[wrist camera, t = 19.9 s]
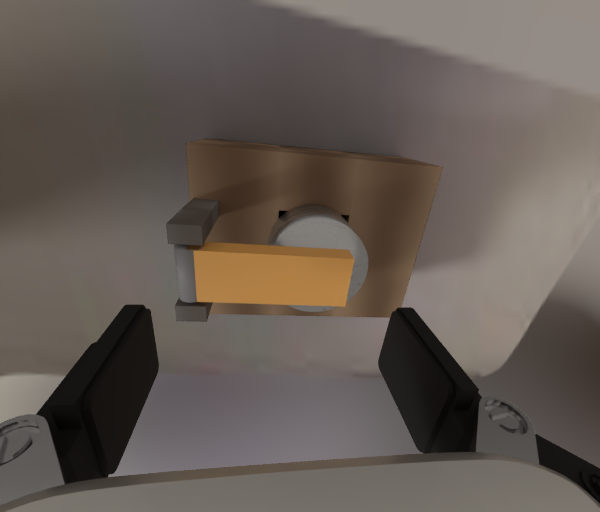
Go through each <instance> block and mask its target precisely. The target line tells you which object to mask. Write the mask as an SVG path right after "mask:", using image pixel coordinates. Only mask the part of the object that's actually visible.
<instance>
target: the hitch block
mask: <svg viewBox="0 0 600 512" xmlns="http://www.w3.org/2000/svg"><path fill="white" fill-rule="evenodd" d="M186 152H187V166H188V181H189V196H190V202H189V203H188V204H186V205H185V206H184V207H183V208H182V209H181V210H180V211H179V212H178V213H177V214H176V215H175V216H174V217H173V218H172V219H171V220H170V221H169V222H167V223H166V229H167V238H168V244H184V245H203V244H204V242H219V243H236V244H254V245H267V244H268V237H269V234H270V231H271V229H272V227H273V225H274V224H275V222H276V221H277V220H278V215H279V210H281V211H289V210H290V209H292V208H295V207H297V206H301V205H306V204H319V205H324V206H327V207H329V208H332V209H333V210H335V211H337V212H338V213H339V214H340V215H342V217H343V218H344V219H345V220H346V221H347V223H348V224H349V225H350V226H351V228H352V229H353V230H354V232H355V233H356V234H357V235H358V237H359V238H360V239H361V241H362V242H363V244H364V246H365V248H366V251H367V255H368V271H367V275H366V278H365V280H364V283H363V284H362V286H361V288H360V289H359V290H358V292H357V293H356V294H355V295H354V296H353V297H352V298H351V299H350V300H348V301H347V302H346V305H345V307H341V306H338V307H336V308H333V309H331V310H326V311H321V312H306V311H301V310H298V309H294V308H292V307H290V306H288V305H279V304H248V303H217V302H194V303H187V302H183V301H181V300H180V298H179V299H178V301H177V303H176V305H175V312H176V321H201V322H207V319H208V316H209V314H250V315H297V316H343V317H391V314H392V312H393V311H395V310H396V309H397V308H401V307H402V303H403V300H404V296H405V293H406V290H407V286H408V283H409V280H410V276H411V273H412V269H413V266H414V263H415V259H416V256H417V253H418V249H419V246H420V242H421V239H422V236H423V232H424V229H425V226H426V222H427V219H428V215H429V212H430V209H431V205H432V202H433V199H434V195H435V192H436V188H437V185H438V182H439V178H440V175H441V172H442V168H443V167H440V166H436V165H432V164H428V163H424V162H420V161H416V160H412V159H408V158H404V157H394V156H384V155H373V154H363V153H353V152H342V151H332V150H322V149H311V148H301V147H290V146H280V145H270V144H259V143H249V142H239V141H228V140H218V139H208V138H207V139H203V140H198V141H194V142H189V143H186Z"/></svg>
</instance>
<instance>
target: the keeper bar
mask: <svg viewBox="0 0 600 512" xmlns="http://www.w3.org/2000/svg"><path fill="white" fill-rule="evenodd" d="M174 250H175V260H176V270H177V280H178V290H179V298H180V300H181V301H183V302H187V303H194V302H217V303H248V304H279V305H310V306H341V307H345V305H346V300H347V295H348V290H349V285H350V280H351V275H352V270H353V264H354V257H353V256H352V254H351V252H350V251H349V250H343V249H325V248H308V247H290V246H272V245H254V244H236V243H219V242H204V244H203V245H184V244H175V245H174Z"/></svg>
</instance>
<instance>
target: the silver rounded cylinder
mask: <svg viewBox="0 0 600 512" xmlns="http://www.w3.org/2000/svg"><path fill="white" fill-rule="evenodd" d="M267 245H272V246H290V247H308V248H325V249H343V250H349V251H350V252H351V254H352V256H353V257H354V264H353V270H352V275H351V280H350V285H349V290H348V295H347V300H346V302H347V301H348V300H350V299H351V298H352V297H353V296H354V295H355V294H356V293H357V292H358V290H359V289H360V288H361V286H362V284H363V283H364V280H365V278H366V275H367V271H368V255H367V251H366V248H365V246H364V244H363V242H362V241H361V239H360V238H359V237H358V235H357V234H356V233H355V232H354V230H353V229H352V228H351V226H350V225H349V224H348V223H347V221H346V220H345V219H344V218H343V217H342V215H340V214H339V213H338V212H337V211H335V210H333V209H332V208H329V207H327V206H324V205H319V204H306V205H301V206H297V207H295V208H292V209H290V210H289V211H285V213H284V214H283V215H282V216H281V217H280V218H279V219H278V220H277V221H276V222H275V224H274V225H273V227H272V229H271V231H270V234H269V237H268V244H267ZM288 306H290V307H292V308H294V309H298V310H301V311H306V312H321V311H326V310H331V309H333V308H336V307H338V306H310V305H288Z"/></svg>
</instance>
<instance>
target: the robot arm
mask: <svg viewBox="0 0 600 512" xmlns="http://www.w3.org/2000/svg"><path fill="white" fill-rule="evenodd" d="M378 365H379V369H380V371H381V373H382V375H383V377H384V380H385V381H386V384H387V386H388V388H389V390H390V392H391V394H392V396H393V398H394V401H395V403H396V405H397V407H398V409H399V411H400V413H401V415H402V418H403V420H404V422H405V424H406V426H407V428H408V430H409V432H410V434H411V437H412V439H413V441H414V443H415V445H416V447H417V449H418V450H419V451H420V452H423V454H407V455H392V456H377V457H361V458H346V459H333V460H318V461H304V462H290V463H276V464H263V465H249V466H235V467H223V468H209V469H197V470H184V471H171V472H159V473H149V474H139V475H128V476H118V477H108V475H109V474H113V473H114V472H115V471H116V469H117V467H118V465H119V463H120V460H121V458H122V456H123V453H124V451H125V449H126V446H127V444H128V441H129V439H130V437H131V435H132V432H133V430H134V427H135V425H136V423H137V420H138V418H139V416H140V413H141V411H142V408H143V406H144V404H145V401H146V399H147V397H148V394H149V392H150V390H151V387H152V385H153V382H154V380H155V378H156V376H157V373H158V368H159V363H158V356H157V350H156V343H155V336H154V330H153V323H152V317H151V311H150V309H146V308H145V306H144V305H125V306H124V307H123V308H122V309H121V311H120V312H119V313H118V315H117V316H116V317H115V319H114V320H113V321H112V323H111V324H110V325H109V326H108V328H107V329H106V330H105V332H104V333H103V334H102V336H101V337H100V338H99V340H98V341H97V342H95V343H93V344H91V345H90V346H89V347H88V349H87V350H86V351H85V353H84V354H83V355H82V356H81V358H80V359H79V360H78V361H77V363H76V364H75V365H74V367H73V368H72V369H71V370H70V372H69V373H68V374H67V376H66V377H65V378H64V379H63V381H62V382H61V383H60V384H59V386H58V387H57V388H56V390H55V391H54V392H53V394H52V395H51V396H50V397H49V399H48V400H47V401H46V402H45V404H44V405H43V406H42V408H41V409H40V410H39V411H38V413H37V414H36V415H31V414H30V415H29V414H28V415H23V416H18V417H15V418H12V419H9V420H7V421H4V422H2V423H1V424H0V512H600V468H598V467H596V466H594V465H592V464H590V463H588V462H587V461H585V460H583V459H581V458H579V457H577V456H576V455H574V454H572V453H570V452H568V451H566V450H565V449H562V448H561V447H559V446H557V445H555V444H553V443H551V442H550V441H548V440H546V439H544V438H542V437H540V436H539V435H537V434H535V430H534V427H533V424H532V422H531V421H530V420H529V418H528V416H527V415H525V413H523V411H521V410H520V409H519V408H518V407H516V406H515V405H514V404H512V403H510V402H508V401H507V400H505V399H502V398H499V397H496V396H485V397H483V398H482V397H481V396H480V395H479V393H478V391H479V389H478V388H477V387H476V385H475V384H474V383H473V382H472V380H471V379H470V378H469V377H468V376H467V374H466V373H465V372H464V371H463V369H462V368H461V367H460V366H459V364H458V363H457V362H456V361H455V360H454V358H453V357H452V356H451V355H450V353H449V352H448V351H447V350H446V348H445V347H444V346H443V345H442V343H441V342H440V341H439V340H438V339H437V337H436V336H435V335H434V334H433V332H432V331H431V330H430V329H429V327H428V326H427V325H426V324H425V323H424V321H423V320H422V319H421V318H420V316H419V315H418V314H417V313H416V311H415V310H414V309H413V308H397V309H396V310H395V311H393V312H392V314H391V317H390V321H389V324H388V328H387V331H386V335H385V339H384V342H383V346H382V349H381V353H380V356H379V360H378Z"/></svg>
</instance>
